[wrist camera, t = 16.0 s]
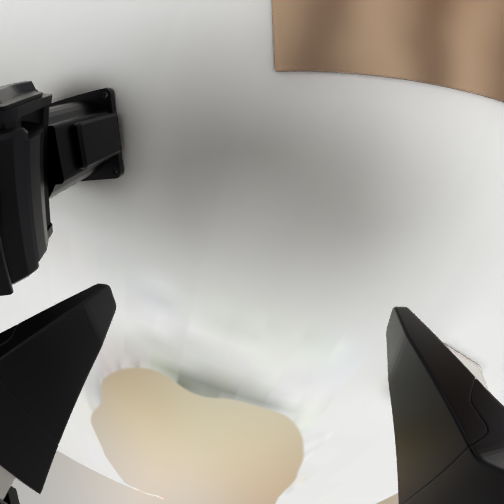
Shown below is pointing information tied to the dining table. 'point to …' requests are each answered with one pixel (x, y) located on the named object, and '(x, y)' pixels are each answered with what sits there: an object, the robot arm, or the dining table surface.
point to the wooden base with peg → (396, 40)
